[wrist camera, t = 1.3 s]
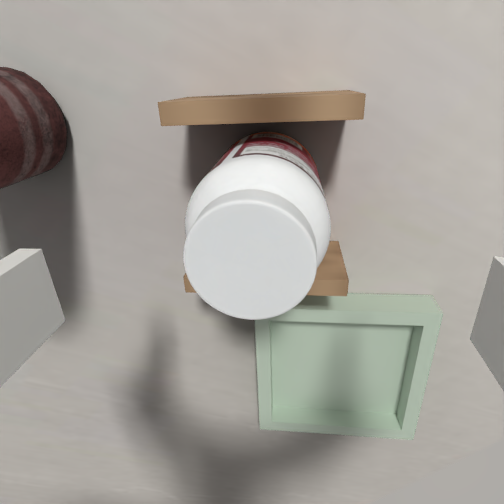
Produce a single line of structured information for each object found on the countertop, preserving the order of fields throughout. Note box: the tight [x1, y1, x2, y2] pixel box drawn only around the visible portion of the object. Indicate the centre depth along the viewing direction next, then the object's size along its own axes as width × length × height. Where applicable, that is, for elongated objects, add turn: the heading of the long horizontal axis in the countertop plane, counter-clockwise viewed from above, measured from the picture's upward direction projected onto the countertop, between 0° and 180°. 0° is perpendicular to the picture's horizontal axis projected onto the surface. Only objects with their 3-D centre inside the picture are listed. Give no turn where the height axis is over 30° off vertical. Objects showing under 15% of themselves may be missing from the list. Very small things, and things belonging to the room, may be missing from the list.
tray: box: [255, 293, 443, 440], centre depth 26 cm, size 12×12×2 cm
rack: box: [158, 90, 366, 296], centre depth 20 cm, size 9×10×5 cm
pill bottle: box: [183, 132, 331, 320], centre depth 17 cm, size 6×6×11 cm
